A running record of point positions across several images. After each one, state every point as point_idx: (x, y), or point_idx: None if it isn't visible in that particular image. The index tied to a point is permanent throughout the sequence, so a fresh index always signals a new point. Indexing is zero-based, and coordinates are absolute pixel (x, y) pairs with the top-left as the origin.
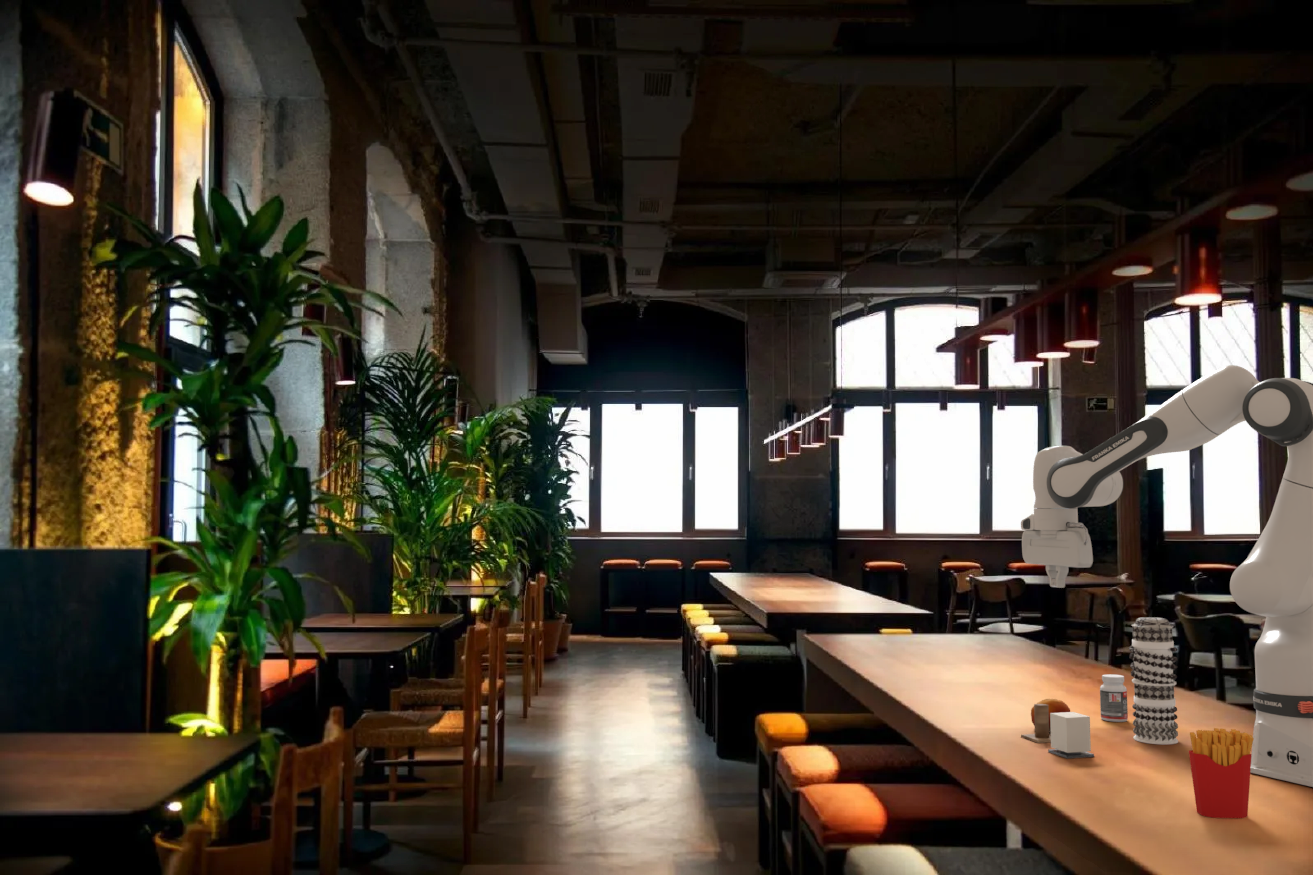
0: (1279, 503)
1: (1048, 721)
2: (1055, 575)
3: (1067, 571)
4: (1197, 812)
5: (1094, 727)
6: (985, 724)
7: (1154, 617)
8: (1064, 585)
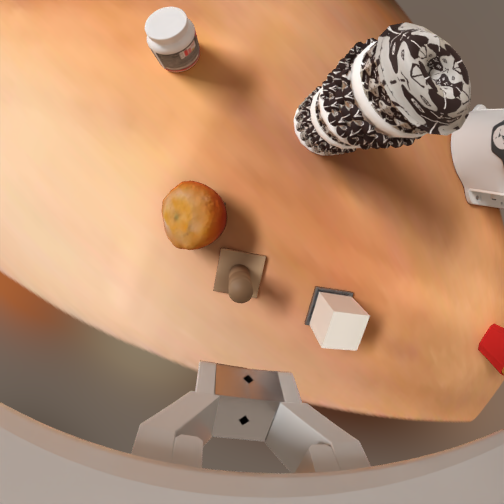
0: None
1: (249, 276)
2: (202, 422)
3: (354, 447)
4: (478, 349)
5: (206, 125)
6: (116, 268)
7: (425, 39)
8: (293, 379)
